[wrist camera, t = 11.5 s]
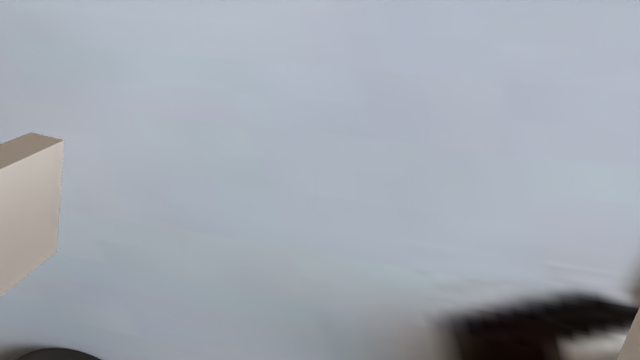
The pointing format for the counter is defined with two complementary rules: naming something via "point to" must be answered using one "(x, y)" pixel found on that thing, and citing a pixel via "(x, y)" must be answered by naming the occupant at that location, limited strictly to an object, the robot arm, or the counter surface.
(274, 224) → the counter surface
